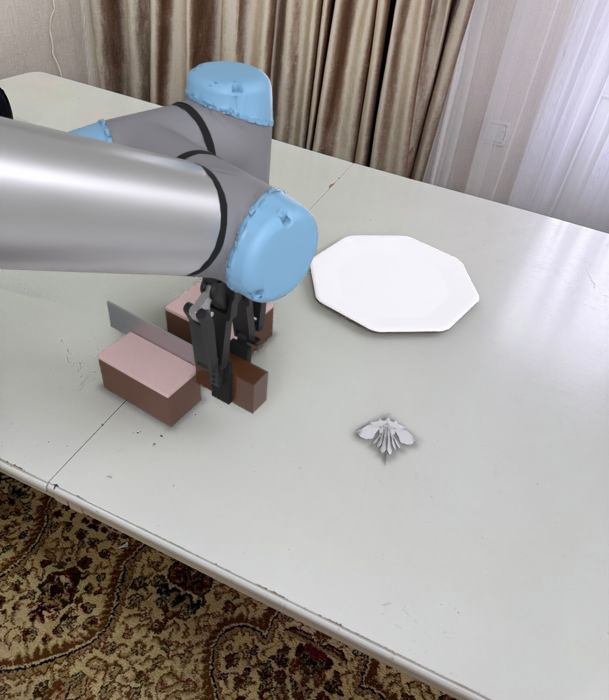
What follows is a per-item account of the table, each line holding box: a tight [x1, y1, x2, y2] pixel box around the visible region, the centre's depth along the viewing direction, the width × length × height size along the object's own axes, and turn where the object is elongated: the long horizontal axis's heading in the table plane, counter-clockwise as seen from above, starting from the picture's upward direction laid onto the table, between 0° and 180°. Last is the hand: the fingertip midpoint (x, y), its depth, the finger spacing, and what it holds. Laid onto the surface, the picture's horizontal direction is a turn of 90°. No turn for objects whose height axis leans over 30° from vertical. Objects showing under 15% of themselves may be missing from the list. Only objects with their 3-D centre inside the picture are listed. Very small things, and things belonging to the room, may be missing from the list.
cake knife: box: [106, 300, 269, 415], centre depth 80 cm, size 26×3×5 cm, turn 57°
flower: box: [356, 412, 418, 466], centre depth 80 cm, size 8×8×3 cm
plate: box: [309, 234, 480, 334], centre depth 106 cm, size 28×28×2 cm
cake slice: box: [97, 332, 202, 428], centre depth 82 cm, size 6×12×6 cm, turn 57°
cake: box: [164, 279, 275, 354], centre depth 92 cm, size 10×12×6 cm
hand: (231, 389), depth 79 cm, fingers closed on cake knife, 3 cm apart
